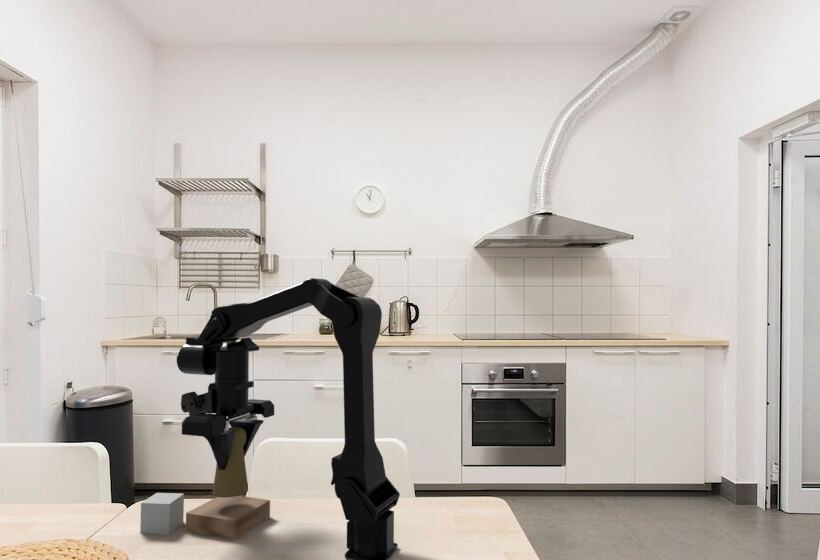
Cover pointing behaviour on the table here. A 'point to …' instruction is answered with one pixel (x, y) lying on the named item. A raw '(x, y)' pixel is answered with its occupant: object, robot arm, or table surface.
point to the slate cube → (162, 513)
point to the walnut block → (228, 516)
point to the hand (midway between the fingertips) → (230, 465)
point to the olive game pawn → (232, 470)
